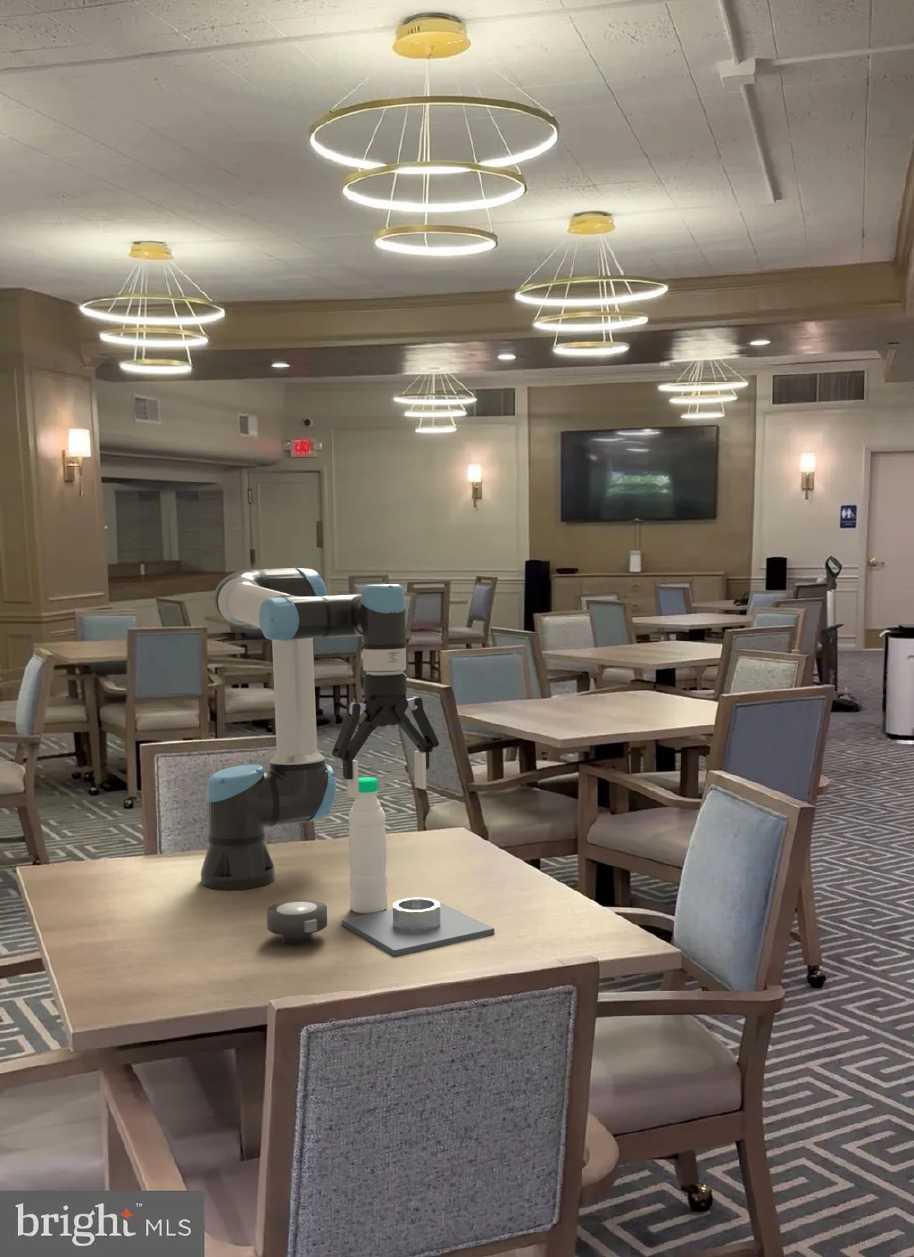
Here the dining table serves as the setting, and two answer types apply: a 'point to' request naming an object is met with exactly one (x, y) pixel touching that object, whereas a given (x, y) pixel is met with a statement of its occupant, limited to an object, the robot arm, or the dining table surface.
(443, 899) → the dining table surface
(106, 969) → the dining table surface
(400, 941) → the slate board
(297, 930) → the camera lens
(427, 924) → the grey hollow ring
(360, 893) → the water bottle
